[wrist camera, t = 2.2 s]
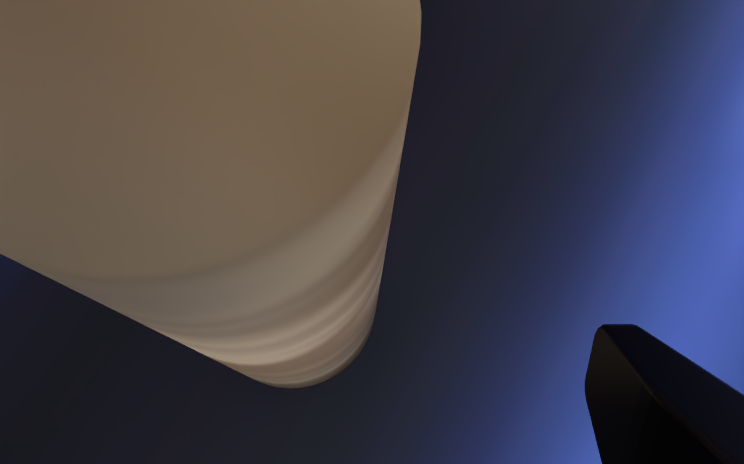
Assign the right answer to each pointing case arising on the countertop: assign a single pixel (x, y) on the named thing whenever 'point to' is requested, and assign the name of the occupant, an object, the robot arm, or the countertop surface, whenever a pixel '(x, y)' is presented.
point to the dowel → (211, 166)
